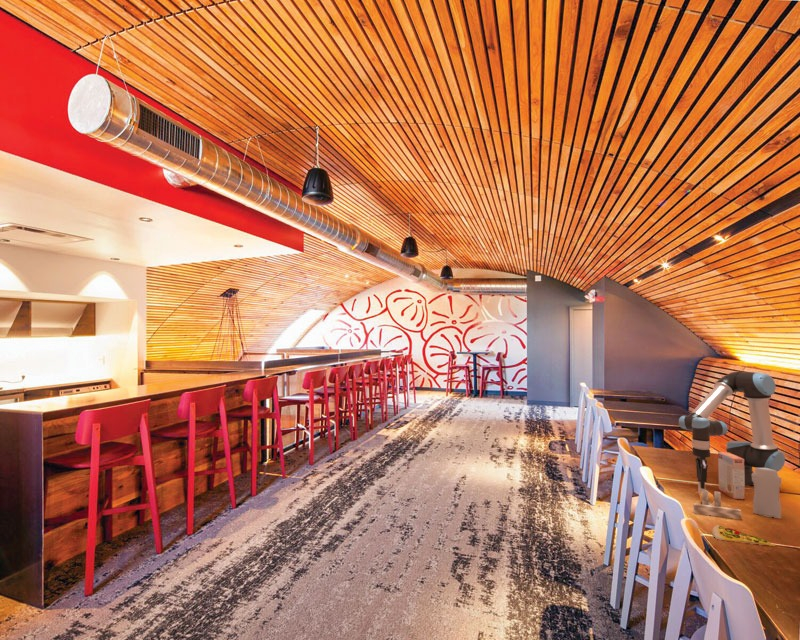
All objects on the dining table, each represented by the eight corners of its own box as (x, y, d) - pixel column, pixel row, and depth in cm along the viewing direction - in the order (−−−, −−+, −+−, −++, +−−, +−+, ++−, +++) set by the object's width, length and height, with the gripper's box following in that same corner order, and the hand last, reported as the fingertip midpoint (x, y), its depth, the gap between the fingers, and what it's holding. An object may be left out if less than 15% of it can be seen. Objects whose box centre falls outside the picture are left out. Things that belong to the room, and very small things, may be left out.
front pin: (713, 503, 209) (718, 509, 201) (712, 507, 209) (717, 514, 201) (707, 501, 210) (712, 507, 202) (706, 506, 210) (711, 512, 202)
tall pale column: (781, 517, 198) (780, 468, 200) (782, 520, 195) (781, 471, 196) (752, 511, 205) (750, 464, 206) (752, 514, 201) (751, 466, 202)
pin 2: (720, 509, 207) (719, 491, 207) (721, 511, 204) (721, 493, 205) (714, 508, 207) (713, 490, 208) (715, 510, 205) (715, 492, 206)
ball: (717, 499, 209) (714, 508, 212) (713, 490, 214) (711, 498, 217) (702, 496, 211) (699, 505, 214) (699, 487, 216) (697, 495, 219)
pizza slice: (712, 527, 188) (712, 520, 188) (775, 541, 175) (774, 534, 175) (711, 540, 175) (711, 533, 175) (778, 556, 163) (778, 548, 163)
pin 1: (707, 507, 208) (707, 490, 209) (709, 509, 206) (708, 491, 207) (701, 507, 209) (701, 489, 210) (703, 508, 207) (702, 491, 207)
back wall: (740, 518, 196) (739, 509, 197) (741, 519, 195) (741, 511, 195) (693, 511, 203) (693, 503, 203) (694, 513, 201) (694, 504, 202)
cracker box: (746, 500, 220) (745, 458, 221) (732, 499, 221) (731, 458, 222) (730, 490, 233) (729, 452, 234) (718, 490, 235) (717, 451, 236)
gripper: (689, 444, 231) (690, 489, 230) (695, 450, 219) (696, 497, 218) (706, 446, 228) (707, 491, 227) (713, 451, 216) (714, 499, 215)
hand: (702, 494), depth 222 cm, fingers closed
